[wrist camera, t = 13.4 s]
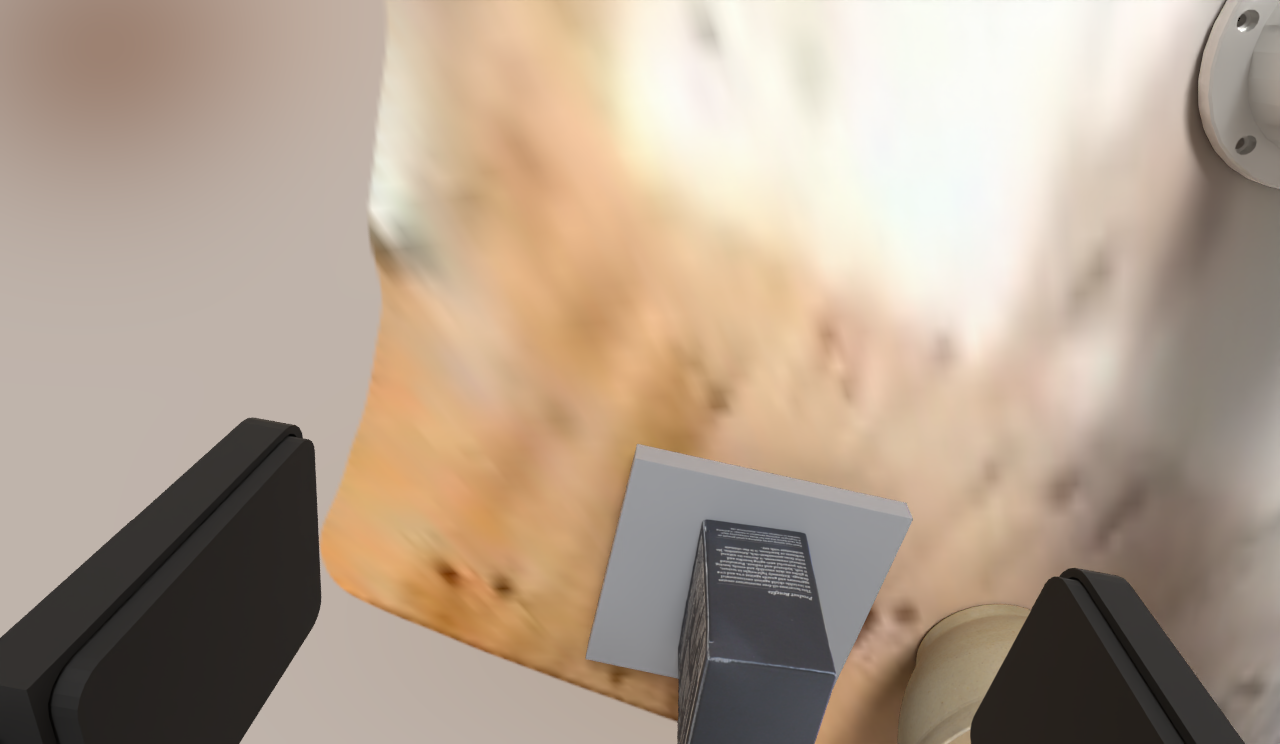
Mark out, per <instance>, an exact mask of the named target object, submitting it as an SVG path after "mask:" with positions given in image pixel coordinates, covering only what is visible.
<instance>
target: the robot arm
mask: <svg viewBox="0 0 1280 744" xmlns="http://www.w3.org/2000/svg"><path fill="white" fill-rule="evenodd" d="M1239 17H1240V21H1239V23H1238V24H1237V21H1238V18H1239ZM1198 107H1199V111H1200V116H1201V120H1202V124H1203V128H1204V131H1205V133H1206V135H1207V137H1208V139H1209V141H1210V143H1211V145H1212V147H1213V149H1214V150H1215V152H1216V153H1217V154H1218V155H1219V156H1220V157H1221V158H1222V159H1223V160H1224V162H1225V163H1226V164H1227V165H1228V166H1229V167H1230V168H1232V169H1234V170H1235V171H1237V172H1238V173H1240V174H1241V175H1243V176H1244V177H1246V178H1247V179H1250V180H1253V181H1255V182H1258V183H1261V184H1263V185H1266V186H1269V187H1272V188H1276V189H1280V0H1227V1H1226V3H1225V5H1224V7H1223V9H1222V10H1221V12H1220V14H1219V16H1218V18H1217V19H1216V21H1215V23H1214V25H1213V28H1212V31H1211V33H1210V36H1209V39H1208V42H1207V44H1206V47H1205V50H1204V52H1203V57H1202V63H1201V68H1200V73H1199V79H1198ZM1237 142H1238V143H1237ZM316 494H317V493H316V472H315V450H314V445H313V443H312V441H310V440H307V439H303V437H302V432H301V430H300V428H299V427H297V426H296V425H291V424H286V423H280V422H275V421H269V420H264V419H258V418H247V419H246V420H244V421H243V422H241V423H240V424H239V425H238V426H237V427H236V428H235V429H233V430H232V431H231V432H230V433H229V434H228V435H227V436H226V437H224V438H223V439H222V440H221V441H220V442H219V443H218V444H217V445H216V446H214V447H213V448H212V449H211V450H210V451H209V452H208V453H207V454H205V455H204V456H203V457H202V458H201V459H200V460H199V461H198V462H197V463H195V464H194V465H193V466H192V467H191V468H190V469H189V470H188V471H187V472H186V473H184V474H183V475H182V476H181V477H180V478H179V479H178V480H177V481H175V482H174V484H172V485H171V486H170V487H169V488H168V489H167V490H165V492H163V493H162V494H161V495H160V496H159V497H158V498H157V499H155V500H154V501H153V502H152V503H151V504H150V505H149V506H148V507H146V509H144V510H143V511H142V512H141V513H140V514H139V515H138V516H136V517H135V519H133V520H131V521H130V522H129V523H128V524H127V525H126V526H125V527H124V528H122V529H121V530H120V531H119V532H118V533H117V534H116V535H115V536H114V537H112V538H111V539H110V540H109V541H108V542H107V543H106V544H105V545H103V546H102V547H101V548H100V549H99V550H98V551H97V552H96V553H95V554H93V555H92V556H91V557H90V558H89V559H88V560H87V561H86V562H85V563H83V564H82V565H81V566H80V567H79V568H78V569H77V570H76V571H74V572H73V573H72V574H71V575H70V576H69V577H68V578H67V579H66V580H65V581H63V582H62V583H61V584H60V585H59V586H58V587H57V588H56V589H55V590H53V591H52V592H51V593H50V594H49V595H48V596H47V597H45V598H44V599H43V600H42V601H41V602H40V603H39V604H38V605H37V606H35V608H34V609H32V610H31V611H30V612H29V613H28V614H27V615H25V617H23V618H22V619H21V620H20V621H19V622H18V623H17V624H15V625H14V626H13V627H12V628H11V629H10V630H9V631H8V632H7V633H6V634H4V635H3V636H2V637H1V638H0V744H239V743H240V741H241V740H242V738H243V737H244V735H245V733H246V732H247V730H248V729H249V727H250V726H251V724H252V722H253V721H254V719H255V718H256V716H257V715H258V712H259V711H260V710H261V708H262V707H263V705H264V704H265V702H266V700H267V699H268V697H269V696H270V694H271V692H272V691H273V689H274V688H275V686H276V685H277V683H278V681H279V679H280V678H281V677H282V675H283V674H284V672H285V670H286V669H287V667H288V666H289V664H290V662H291V661H292V659H293V658H294V656H295V655H296V653H297V651H298V650H299V648H300V647H301V645H302V644H303V642H304V640H305V639H306V637H307V636H308V634H309V632H310V631H311V629H312V627H313V626H314V624H315V621H316V619H317V617H318V613H319V610H320V605H321V583H320V560H319V537H318V515H317V495H316ZM970 740H971V744H1245V743H1244V742H1243V740H1242V739H1241V738H1240V736H1239V735H1238V733H1237V732H1236V731H1235V729H1234V728H1233V726H1232V725H1231V724H1230V722H1229V721H1228V720H1227V718H1226V717H1225V715H1224V714H1223V713H1222V711H1221V710H1220V708H1219V707H1218V706H1217V704H1216V703H1215V702H1214V700H1213V699H1212V697H1211V696H1210V695H1209V693H1208V692H1207V690H1206V689H1205V688H1204V686H1203V685H1202V684H1201V682H1200V681H1199V679H1198V678H1197V677H1196V675H1195V674H1194V672H1193V671H1192V670H1191V668H1190V667H1189V666H1188V664H1187V663H1186V661H1185V660H1184V659H1183V657H1182V656H1181V654H1180V653H1179V652H1178V650H1177V649H1176V648H1175V646H1174V645H1173V643H1172V642H1171V641H1170V639H1169V638H1168V636H1167V635H1166V634H1165V632H1164V631H1163V630H1162V628H1161V627H1160V625H1159V624H1158V623H1157V621H1156V620H1155V618H1154V617H1153V616H1152V614H1151V613H1150V612H1149V610H1148V609H1147V607H1146V606H1145V605H1144V603H1143V602H1142V600H1141V599H1140V598H1139V596H1138V595H1137V594H1136V592H1135V591H1134V589H1133V588H1132V587H1131V585H1130V584H1129V583H1128V582H1127V581H1126V580H1125V579H1124V578H1121V577H1119V576H1116V575H1110V574H1105V573H1099V572H1094V571H1089V570H1083V569H1078V568H1070V569H1067V570H1066V571H1064V572H1063V573H1062V574H1061V575H1060V577H1052V578H1051V579H1049V580H1048V581H1047V583H1046V584H1045V585H1044V587H1043V589H1042V591H1041V593H1040V595H1039V597H1038V598H1037V600H1036V602H1035V604H1034V606H1033V608H1032V610H1031V611H1030V613H1029V615H1028V617H1027V619H1026V621H1025V622H1024V624H1023V626H1022V628H1021V630H1020V632H1019V634H1018V635H1017V637H1016V639H1015V641H1014V643H1013V645H1012V647H1011V648H1010V650H1009V652H1008V654H1007V656H1006V658H1005V659H1004V661H1003V663H1002V665H1001V667H1000V669H999V671H998V672H997V674H996V676H995V678H994V680H993V682H992V684H991V685H990V687H989V689H988V691H987V693H986V695H985V697H984V698H983V700H982V702H981V704H980V706H979V708H978V709H977V711H976V713H975V715H974V717H973V720H972V723H971V728H970Z"/></svg>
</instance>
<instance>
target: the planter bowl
mask: <svg viewBox="0 0 1280 744" xmlns="http://www.w3.org/2000/svg"><path fill="white" fill-rule="evenodd" d="M1030 611H1031V610H1029V609H1026V608H1023V607H1019V606H1015V605H1007V604H990V605H981V606H976V607H971V608H968V609H965V610H962V611H959V612H957V613H955V614H953V615H951V616H949V617H947V618H945V619H944V620H942V621H941V622H939V623H938V624H937V625H936V626H934V627H933V628H932V629H931V630H930V631H929V632H928V633H927V635H926V636H925V638H924V639H923V641H922V642H921V644H920V646H919V649H918V652H917V657H916V667H915V669H914V671H913V673H912V675H911V677H910V679H909V682H908V684H907V687H906V690H905V693H904V696H903V701H902V705H901V710H900V716H899V724H898V739H897V743H898V744H971V740H970V728H971V723H972V720H973V717H974V715H975V713H976V711H977V709H978V708H979V706H980V704H981V702H982V700H983V698H984V697H985V695H986V693H987V691H988V689H989V687H990V685H991V684H992V682H993V680H994V678H995V676H996V674H997V672H998V671H999V669H1000V667H1001V665H1002V663H1003V661H1004V659H1005V658H1006V656H1007V654H1008V652H1009V650H1010V648H1011V647H1012V645H1013V643H1014V641H1015V639H1016V637H1017V635H1018V634H1019V632H1020V630H1021V628H1022V626H1023V624H1024V622H1025V621H1026V619H1027V617H1028V615H1029V613H1030Z"/></svg>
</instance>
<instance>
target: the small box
mask: <svg viewBox="0 0 1280 744" xmlns="http://www.w3.org/2000/svg"><path fill="white" fill-rule="evenodd" d="M678 673H679V675H678V679H679V690H678V693H679V699H678V706H679V708H678V713H679V716H678V736H677V737H678V744H815V741H816V738H817V735H818V732H819V729H820V726H821V723H822V719H823V716H824V713H825V710H826V707H827V704H828V701H829V698H830V695H831V692H832V689H833V686H834V683H835V680H836V677H837V675H836V671H835V667H834V662H833V657H832V653H831V648H830V644H829V639H828V635H827V630H826V626H825V621H824V616H823V612H822V607H821V602H820V598H819V593H818V588H817V583H816V579H815V574H814V569H813V565H812V560H811V555H810V549H809V545H808V540H807V536H806V534H805V533H801V532H795V531H789V530H782V529H775V528H768V527H761V526H753V525H746V524H738V523H730V522H724V521H716V520H708V519H706V520H704V521H703V522H702V526H701V531H700V536H699V540H698V546H697V551H696V557H695V561H694V565H693V572H692V577H691V582H690V587H689V592H688V597H687V600H686V607H685V613H684V618H683V623H682V630H681V635H680V641H679V646H678Z"/></svg>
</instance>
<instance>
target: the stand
mask: <svg viewBox="0 0 1280 744" xmlns="http://www.w3.org/2000/svg"><path fill="white" fill-rule="evenodd" d="M706 519H708V520H716V521H724V522H730V523H738V524H746V525H753V526H761V527H768V528H775V529H782V530H789V531H795V532H801V533H805V534H806V536H807V540H808V545H809V549H810V555H811V560H812V565H813V569H814V574H815V579H816V583H817V588H818V593H819V598H820V602H821V607H822V612H823V616H824V621H825V626H826V630H827V635H828V639H829V644H830V648H831V653H832V657H833V662H834V667H835V671H836V675H837V677H836V680H835V683H836V681H837V679H838V677H839V675H840V673H841V670H842V668H843V666H844V664H845V662H846V660H847V658H848V656H849V653H850V651H851V649H852V647H853V645H854V643H855V641H856V639H857V637H858V634H859V632H860V630H861V628H862V626H863V624H864V622H865V620H866V618H867V615H868V613H869V611H870V609H871V607H872V605H873V603H874V601H875V598H876V596H877V594H878V592H879V590H880V588H881V586H882V584H883V582H884V579H885V577H886V575H887V573H888V571H889V569H890V567H891V565H892V562H893V560H894V558H895V556H896V554H897V552H898V550H899V548H900V546H901V543H902V541H903V539H904V537H905V535H906V533H907V531H908V529H909V527H910V524H911V522H912V520H913V518H912V515H911V513H910V510H909V508H908V506H907V503H904V502H899V501H895V500H890V499H886V498H881V497H877V496H872V495H867V494H863V493H858V492H854V491H849V490H845V489H840V488H836V487H831V486H826V485H822V484H817V483H813V482H808V481H804V480H799V479H795V478H790V477H785V476H781V475H776V474H772V473H767V472H763V471H758V470H754V469H749V468H744V467H740V466H735V465H731V464H726V463H722V462H717V461H713V460H708V459H703V458H699V457H694V456H690V455H685V454H681V453H676V452H671V451H667V450H662V449H658V448H653V447H649V446H644V445H640V444H637V447H636V451H635V455H634V459H633V463H632V467H631V471H630V475H629V479H628V483H627V487H626V491H625V495H624V499H623V504H622V508H621V512H620V516H619V520H618V524H617V528H616V532H615V536H614V540H613V544H612V548H611V552H610V556H609V560H608V564H607V568H606V573H605V577H604V581H603V585H602V589H601V593H600V597H599V601H598V605H597V609H596V613H595V617H594V621H593V625H592V629H591V633H590V637H589V642H588V647H587V653H586V659H588V660H593V661H597V662H602V663H607V664H612V665H616V666H621V667H626V668H631V669H635V670H640V671H645V672H649V673H654V674H659V675H664V676H668V677H673V678H678V675H679V673H678V646H679V641H680V635H681V630H682V623H683V618H684V613H685V607H686V600H687V597H688V592H689V587H690V582H691V577H692V572H693V565H694V561H695V557H696V551H697V546H698V540H699V536H700V531H701V526H702V522H703V521H704V520H706ZM835 683H834V685H835ZM833 687H834V686H833Z"/></svg>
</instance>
